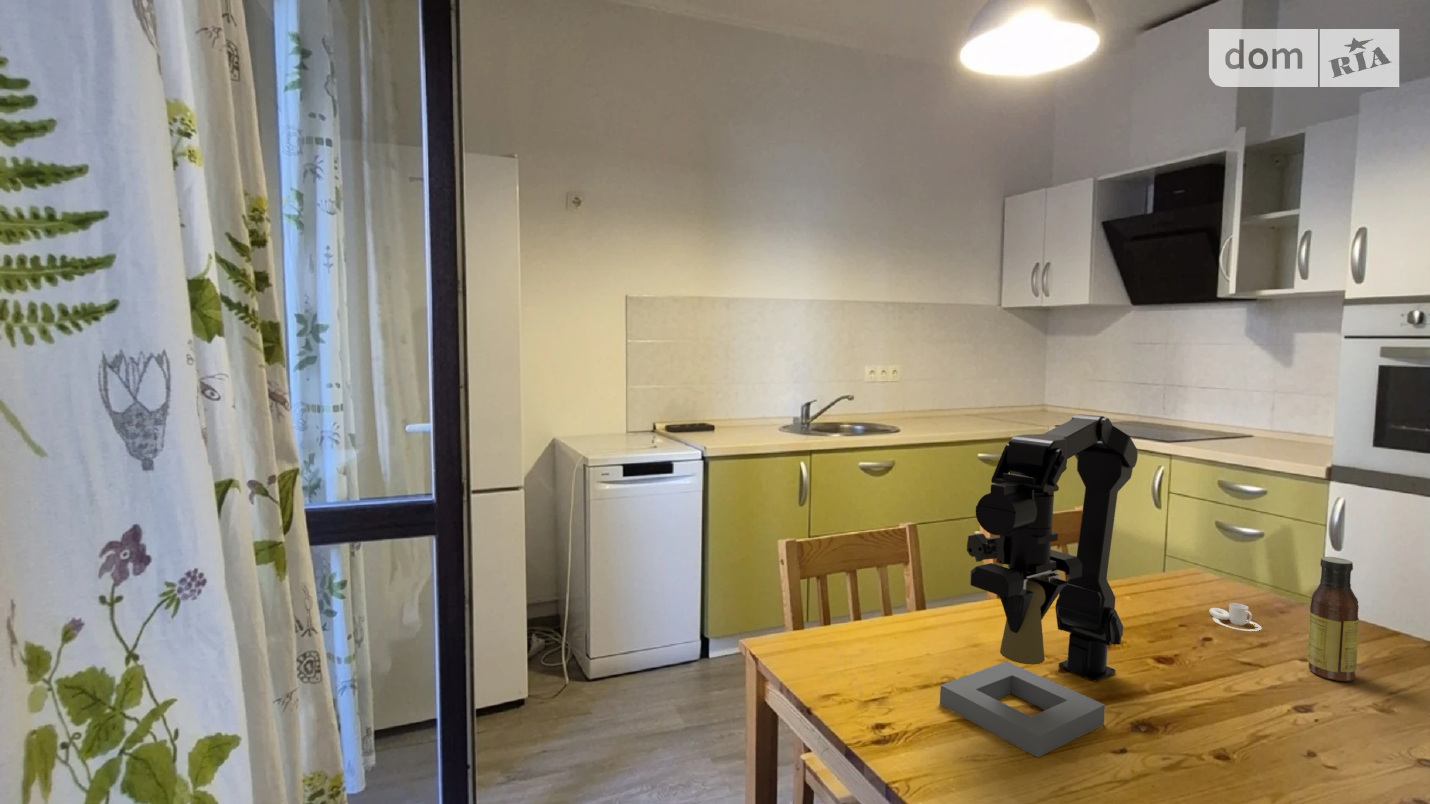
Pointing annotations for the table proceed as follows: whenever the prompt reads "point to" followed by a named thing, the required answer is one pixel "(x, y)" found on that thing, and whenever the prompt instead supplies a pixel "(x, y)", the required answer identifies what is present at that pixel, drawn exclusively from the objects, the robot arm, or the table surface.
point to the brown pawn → (1027, 632)
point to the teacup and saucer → (1234, 616)
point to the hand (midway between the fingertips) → (1024, 628)
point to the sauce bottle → (1334, 623)
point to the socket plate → (1033, 734)
